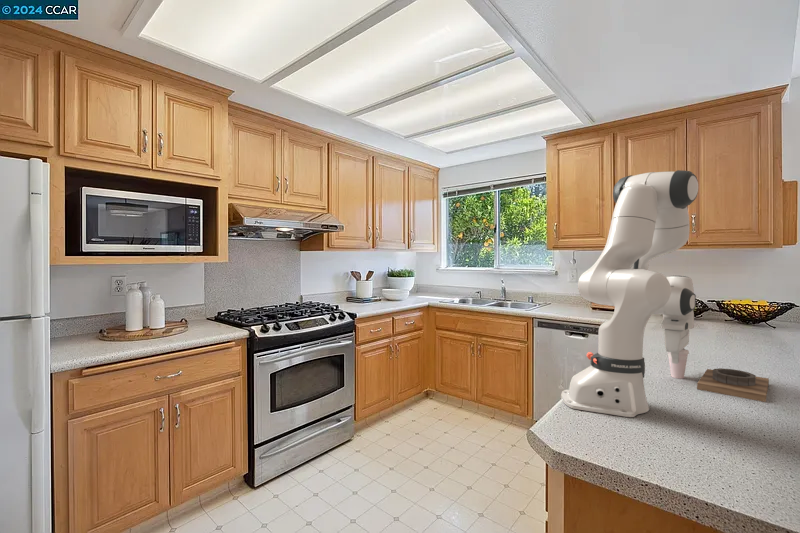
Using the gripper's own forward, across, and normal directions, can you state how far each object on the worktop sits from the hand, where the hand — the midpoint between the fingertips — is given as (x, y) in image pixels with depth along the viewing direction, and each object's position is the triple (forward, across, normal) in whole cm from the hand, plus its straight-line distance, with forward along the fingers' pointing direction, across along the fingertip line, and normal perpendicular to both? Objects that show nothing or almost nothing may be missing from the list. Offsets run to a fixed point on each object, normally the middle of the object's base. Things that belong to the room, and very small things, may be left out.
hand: (677, 361), depth 137 cm
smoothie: (+6, 0, 0) cm, 6 cm away
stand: (+6, 0, +15) cm, 16 cm away
